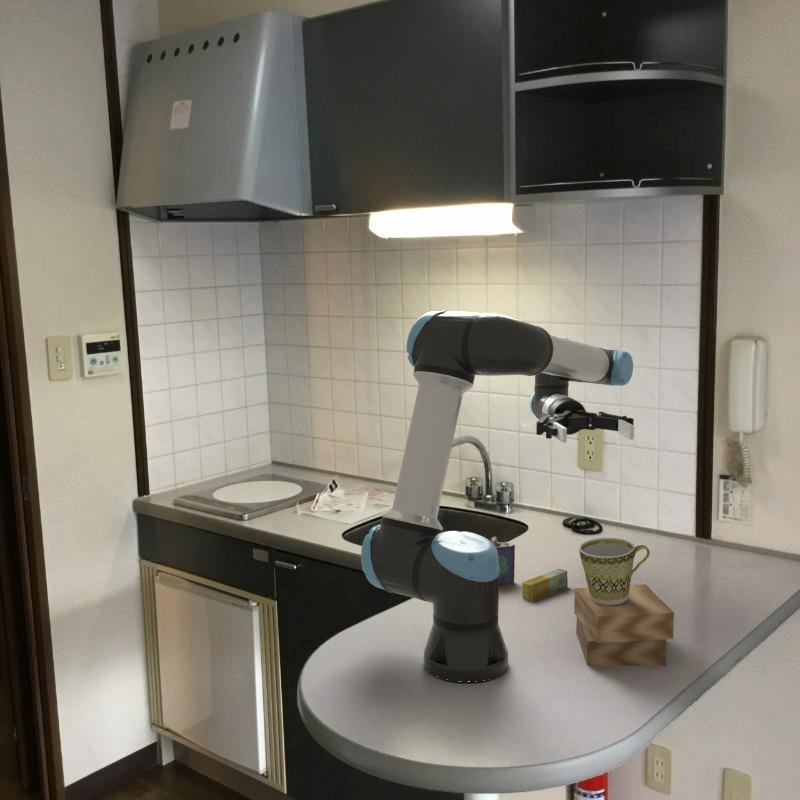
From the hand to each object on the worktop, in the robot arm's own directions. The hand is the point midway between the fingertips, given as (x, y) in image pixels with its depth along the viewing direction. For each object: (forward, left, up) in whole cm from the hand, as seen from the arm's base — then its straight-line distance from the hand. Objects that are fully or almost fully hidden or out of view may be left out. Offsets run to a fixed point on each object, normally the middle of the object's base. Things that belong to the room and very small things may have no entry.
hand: (598, 434), depth 189 cm
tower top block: (+2, -14, -33) cm, 36 cm away
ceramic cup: (+2, -14, -28) cm, 31 cm away
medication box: (-8, +14, -38) cm, 42 cm away
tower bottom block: (+2, -14, -38) cm, 41 cm away
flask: (-19, +19, -38) cm, 46 cm away
